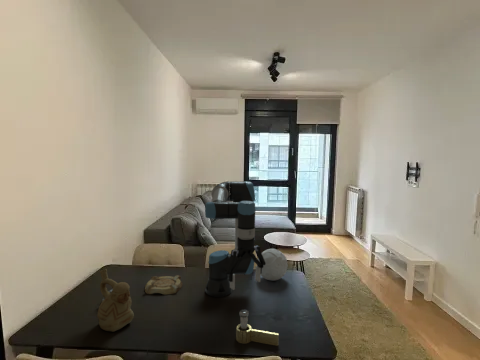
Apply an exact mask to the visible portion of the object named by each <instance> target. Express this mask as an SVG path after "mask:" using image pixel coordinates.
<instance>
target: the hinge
mask: <svg viewBox="0 0 480 360" xmlns="http://www.w3.org/2000/svg"><path fill="white" fill-rule="evenodd" d="M248 317H249V315H248V316H247V322H248V321H249V320H248V319H249V318H248ZM235 340H236V342H238V343H239V344H244V345H245V344H249V343H251V342H255V343H261V344H266V345H271V346H276V347H279V333H278V332H272V331H271V332H270V331H267V330H266V331H265V330H259V329H255V328H254V329H253V328H252V326H251V325H250V324H248V323H247V331H241V330H240V323H239V324H238V325H236V329H235Z"/></svg>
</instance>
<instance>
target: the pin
mask: <svg viewBox="0 0 480 360" xmlns="http://www.w3.org/2000/svg"><path fill="white" fill-rule="evenodd" d="M247 316H248V317H249V316H250V315H249V310H247V309H241V310H239V317H240V323H239V324H240V330H241V331H247V324H248V321H247Z"/></svg>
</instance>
